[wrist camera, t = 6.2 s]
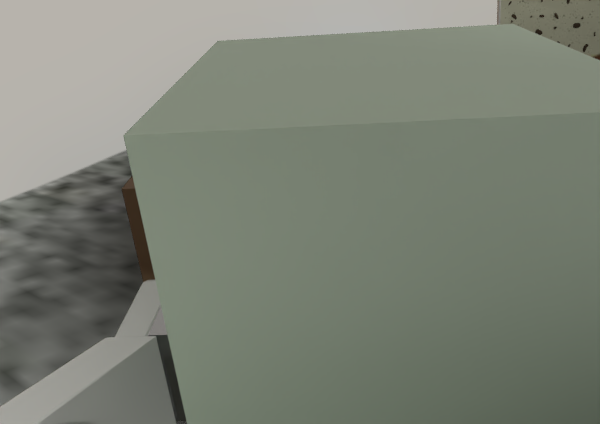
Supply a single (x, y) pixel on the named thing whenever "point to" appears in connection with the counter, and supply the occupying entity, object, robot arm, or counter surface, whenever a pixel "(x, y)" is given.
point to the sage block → (379, 228)
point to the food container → (557, 21)
